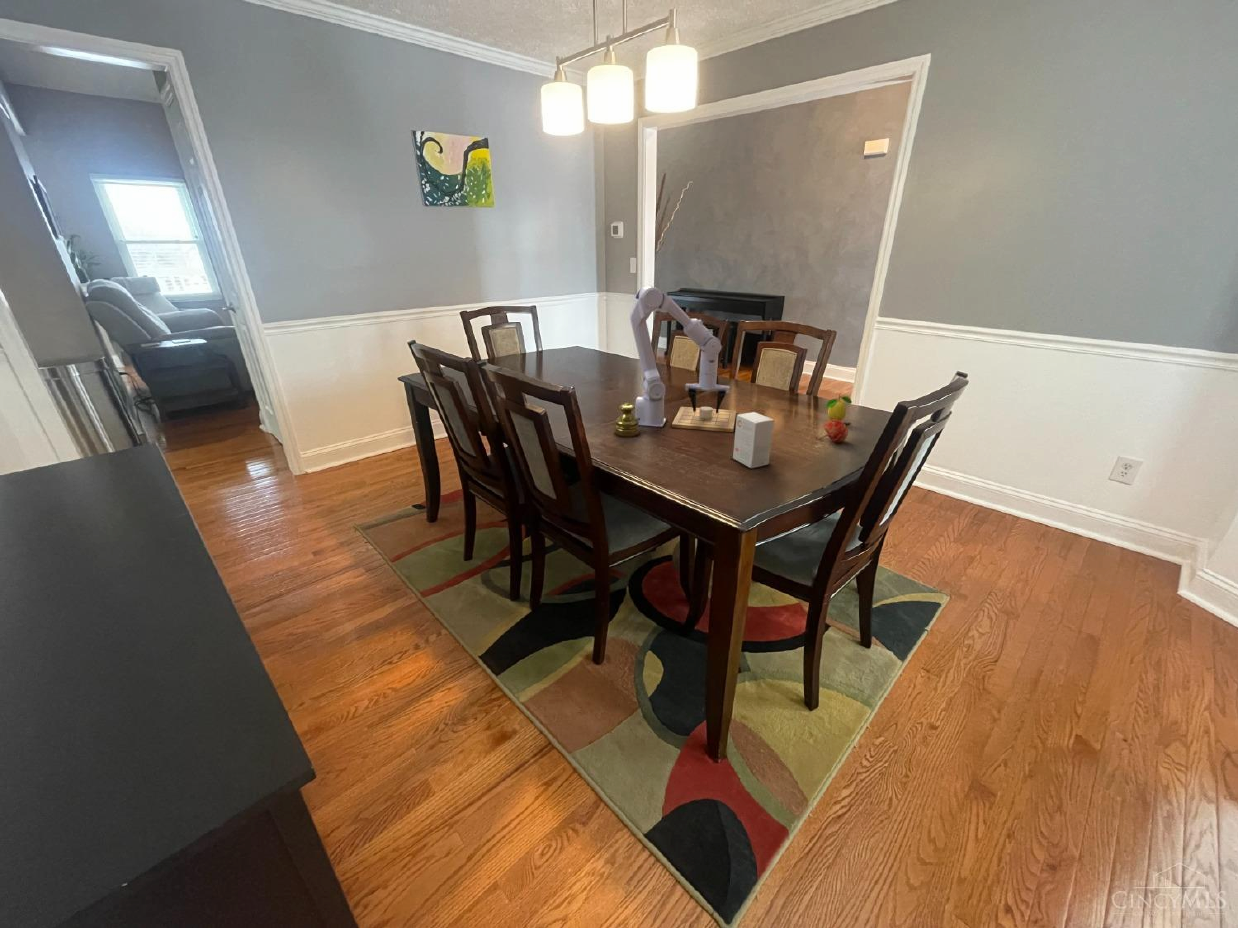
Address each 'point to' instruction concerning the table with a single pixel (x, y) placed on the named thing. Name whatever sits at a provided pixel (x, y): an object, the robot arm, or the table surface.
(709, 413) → the white short cylinder
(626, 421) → the gold chess pawn
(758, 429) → the small box
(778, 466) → the table surface
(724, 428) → the board
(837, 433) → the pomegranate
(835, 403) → the yellow pear
